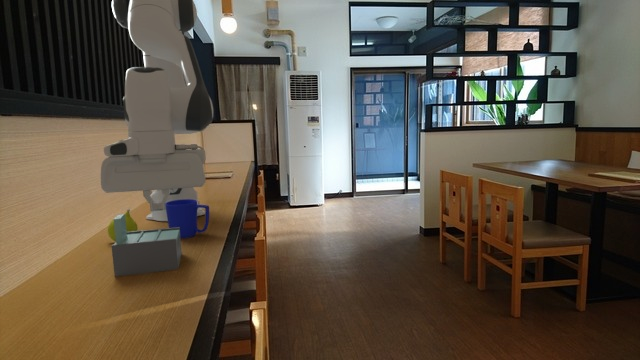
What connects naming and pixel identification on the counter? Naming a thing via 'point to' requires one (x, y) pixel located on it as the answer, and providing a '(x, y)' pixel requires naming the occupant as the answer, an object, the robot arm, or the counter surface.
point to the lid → (139, 237)
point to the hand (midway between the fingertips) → (158, 210)
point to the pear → (130, 226)
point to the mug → (185, 216)
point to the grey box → (146, 255)
